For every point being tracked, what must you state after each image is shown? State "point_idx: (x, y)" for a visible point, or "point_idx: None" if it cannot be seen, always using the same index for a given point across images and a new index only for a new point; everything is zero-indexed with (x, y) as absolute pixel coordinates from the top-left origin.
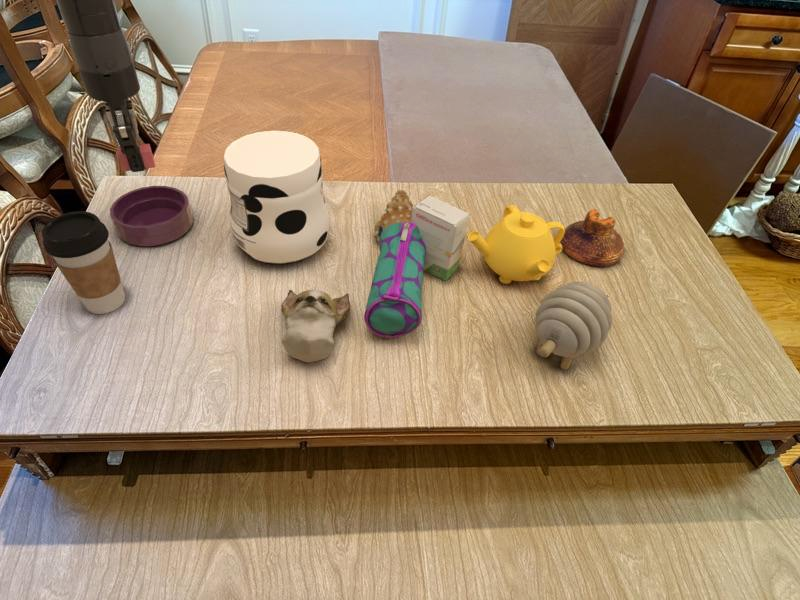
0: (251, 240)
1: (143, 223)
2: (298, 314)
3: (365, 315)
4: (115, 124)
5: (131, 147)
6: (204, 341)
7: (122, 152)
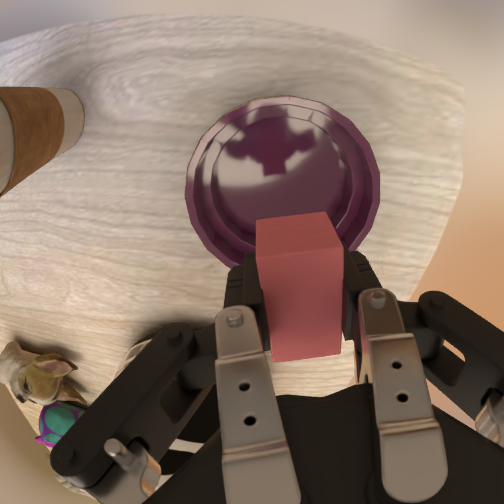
0: (116, 376)
1: (288, 153)
2: (12, 380)
3: (42, 411)
4: (208, 452)
5: (175, 379)
6: (12, 266)
7: (151, 339)
